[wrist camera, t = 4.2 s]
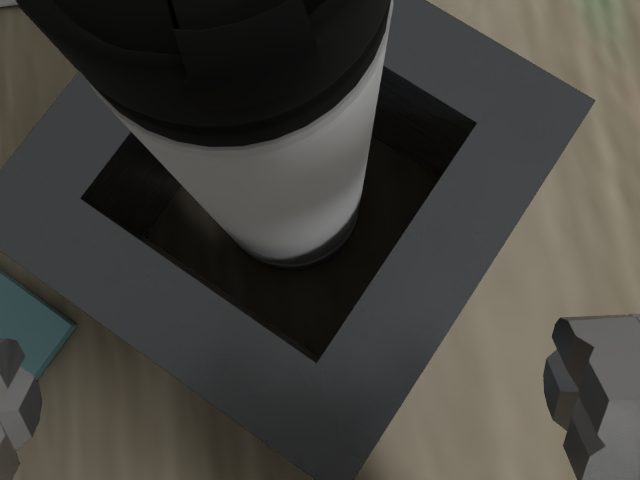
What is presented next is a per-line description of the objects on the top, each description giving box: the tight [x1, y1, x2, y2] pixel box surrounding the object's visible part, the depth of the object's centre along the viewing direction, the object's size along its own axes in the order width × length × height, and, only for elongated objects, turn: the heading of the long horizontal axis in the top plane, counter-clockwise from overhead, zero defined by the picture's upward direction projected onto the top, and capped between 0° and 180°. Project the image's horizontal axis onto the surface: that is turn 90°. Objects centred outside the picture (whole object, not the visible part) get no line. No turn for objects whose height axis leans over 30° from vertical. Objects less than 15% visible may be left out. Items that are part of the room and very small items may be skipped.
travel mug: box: [15, 0, 393, 270], centre depth 18 cm, size 6×7×20 cm
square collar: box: [0, 0, 596, 480], centre depth 24 cm, size 16×16×7 cm
